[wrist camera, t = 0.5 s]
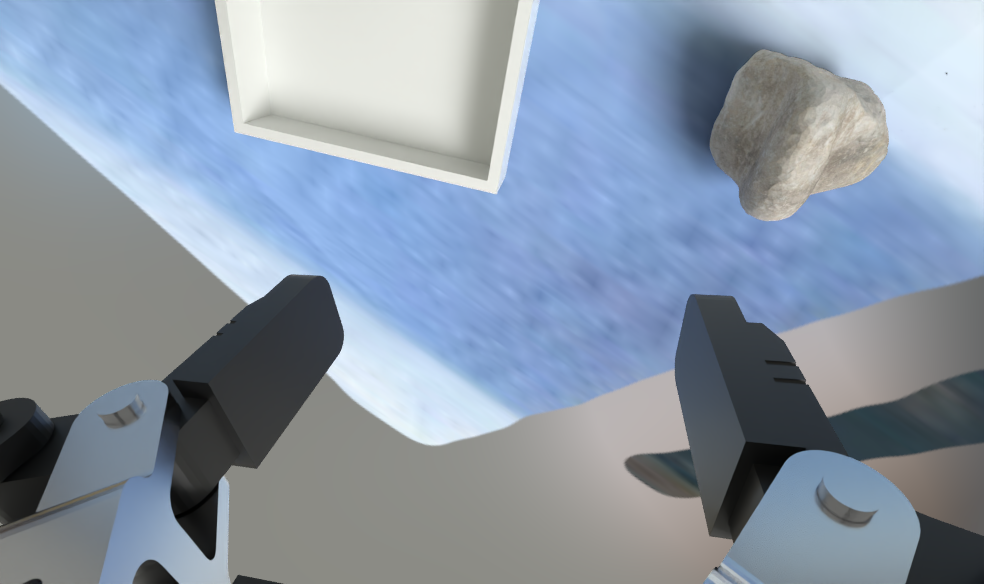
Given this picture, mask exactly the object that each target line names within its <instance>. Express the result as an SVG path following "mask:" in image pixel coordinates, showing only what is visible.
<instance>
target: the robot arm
mask: <svg viewBox="0 0 984 584" xmlns="http://www.w3.org/2000/svg"><path fill="white" fill-rule="evenodd" d="M343 340H344V331H343V327H342V323H341V320H340V317H339V314H338V311H337V307H336V304H335V301H334V298H333V295H332V291H331V288H330V285H329V283H328V281H327V280H326V278H324V277H323V276H314V275H288V276H287V277H285V278H284V279H283V280H282V281H281V282H280V283H279V284H277V285H276V286H275V287H274V288H273V289H272V290H271V291H270V292H269V293H268V294H266V295H265V296H264V297H262V298H260V299H259V300H257V301H255V302H253V303H251V304H250V305H248V306H246V307H245V308H244V309H243V310H242V311H241V312H240V313H238V314H237V315H236V316H235V317H234V318H233V319H232V320H231V323H230V324H226V325H225V326H224V327H222V328H221V329H220V330H219V331H218V332H217V335H216V336H213V337H211V338H210V339H209V340H208V341H207V342H206V343H204V344H203V345H202V346H201V347H200V348H199V349H198V350H196V351H195V352H194V353H193V354H192V355H191V356H190V357H189V358H188V359H186V360H185V361H184V362H183V363H182V364H181V365H179V366H178V367H177V368H176V369H175V370H174V371H173V372H172V373H170V374H169V375H168V376H167V377H166V378H165V379H164V380H163V381H157V380H143V381H137V382H134V383H130V384H127V385H124V386H121V387H119V388H116V389H114V390H112V391H110V392H108V393H106V394H104V395H103V396H101V397H99V398H98V399H96V400H95V401H94V402H92V403H91V404H90V405H88V406H87V407H86V408H85V409H84V410H83V411H82V412H81V413H80V414H76V415H70V416H63V417H56V418H49V417H48V416H47V415H46V414H45V413H44V412H43V411H42V410H41V408H40V407H39V406H38V405H37V404H36V403H35V402H34V401H33V400H31V399H28V398H15V399H10V400H5V401H1V402H0V522H1V523H2V524H3V525H1V526H0V584H231V583H230V579H229V574H228V523H229V483H228V480H227V478H226V477H225V475H224V474H225V473H226V472H227V471H228V469H229V468H230V467H231V465H235V466H242V467H249V468H256V469H257V468H258V466H259V465H260V464H261V462H262V461H263V459H264V458H265V457H266V455H267V454H268V452H269V451H270V450H271V448H272V447H273V446H274V444H275V443H276V441H277V440H278V438H279V437H280V436H281V434H282V433H283V432H284V430H285V429H286V427H287V426H288V425H289V423H290V422H291V420H292V419H293V417H294V416H295V415H296V413H297V412H298V411H299V409H300V408H301V406H302V405H303V403H304V402H305V401H306V399H307V398H308V396H309V395H310V394H311V392H312V391H313V390H314V388H315V387H316V385H317V384H318V383H319V381H320V380H321V379H322V377H323V376H324V374H325V373H326V372H327V370H328V369H329V367H330V366H331V365H332V363H333V362H334V360H335V359H336V358H337V356H338V355H339V353H340V351H341V349H342V345H343ZM675 380H676V386H677V390H678V395H679V399H680V404H681V408H682V413H683V418H684V422H685V426H686V431H687V436H688V440H689V445H690V450H691V454H692V459H693V463H694V468H695V472H696V477H697V481H698V486H699V491H700V495H701V499H702V504H703V509H704V513H705V518H706V522H707V527H708V532H709V535H710V536H712V537H720V538H726V539H733V543H734V544H733V546H732V547H731V549H730V551H729V552H728V554H727V555H726V557H725V559H724V560H723V562H722V563H721V564H720V566H719V567H718V568H717V567H715V568H714V569H713V571H712V572H711V573H710V574H709V576H708V577H707V579H706V580H705V582H704V583H703V584H984V536H982V535H979V534H976V533H973V532H970V531H967V530H965V529H962V528H959V527H956V526H954V525H951V524H948V523H945V522H942V521H940V520H937V519H934V518H931V517H929V516H926V515H924V514H921V513H919V512H917V511H915V510H914V509H913V507H912V505H911V504H910V502H909V501H908V500H907V498H906V497H905V496H904V495H903V493H902V492H901V491H900V490H899V489H898V488H897V487H896V486H895V485H894V484H893V483H891V482H890V481H889V480H888V479H887V478H885V477H884V476H883V475H881V474H880V473H878V472H877V471H875V470H874V469H872V468H870V467H869V466H867V465H865V464H863V463H861V462H859V461H857V460H855V459H853V458H850V457H849V456H848V454H847V452H846V450H845V449H844V447H843V445H842V443H841V442H840V440H839V438H838V436H837V434H836V433H835V431H834V429H833V427H832V426H831V424H830V422H829V420H828V418H827V417H826V415H825V413H824V411H823V410H822V408H821V406H820V405H819V403H818V401H817V399H816V397H815V396H814V394H813V392H812V390H811V388H810V387H809V385H806V383H805V382H806V379H805V378H804V376H803V374H802V372H801V371H800V369H799V367H797V366H796V362H795V360H794V358H793V356H792V355H791V353H790V351H789V349H788V348H787V346H786V344H785V342H784V341H783V340H782V339H780V338H779V337H778V336H777V335H776V334H774V333H773V332H772V331H771V330H770V329H768V328H767V327H766V326H765V325H764V324H762V323H749V322H746V320H745V318H744V316H743V314H742V312H741V310H740V308H739V306H738V304H737V302H736V300H735V298H734V297H733V296H720V295H698V294H691V295H690V297H689V299H688V301H687V305H686V310H685V314H684V319H683V323H682V328H681V333H680V337H679V342H678V347H677V351H676V358H675ZM233 584H281V583H277V582H272V581H267V580H262V579H257V578H252V577H247V576H241V575H238V576H237V578H236V579H235V581H234V582H233Z"/></svg>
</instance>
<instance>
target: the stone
mask: <svg viewBox="0 0 984 584" xmlns="http://www.w3.org/2000/svg"><path fill="white" fill-rule="evenodd" d="M888 143H889V138H888V128H887V125H886V115H885V109H884V106H883V104H882V102H881V101H880V99H879V98H878V96H877V95H875V94H874V92H873V90H872V89H871V88H870V87H869V86H868V85H867V84H865V83H863V82H861V81H856V80H852V79H848V78H843V77H839V76H836V75H834V74H833V73H831V72H829V71H827V70H825V69H823V68H818V67H816V66H814V65H813V64H811V63H809V62H807V61H805V60H803V59H800V58H796V57H787V56H785V55H783V54H782V53H778V52H773V51H769V50H765V49H761V50H759V51H757V52H756V53H755V54H754V55H753V56H752V57H751V58H750V59H749V60H748V62H747V63H746V64H745V65H744V66H742V67H741V68H740V69H739V70H738V72H737V73H736V74H735V77H734V79H733V81H732V84H731V87H730V90H729V92H728V94H727V96H726V99H725V103H724V106H723V108H722V110H721V111H720V114H719V116H718V118H717V119H716V121H715V122H714V126H713V129H712V133H711V137H710V150H711V153H712V156H713V158H714V160H715V163H716V164H717V166H718V167H719V168H720V169H721V170H722V171H723V172H724V173H725V174H727V175H728V176H729V177H731V178H732V179H733V180H734V181H735V183H736V184H737V185H738V187H739V198H740V203H741V205H742V207H743V209H744V210H745V211H746V213H747V214H749V215H751V216H753V217H755V218H756V219H759V220H763V221H776V220H781V219H784V218H788V217H790V216H791V215H793V214H794V213H795V212H796V211H797V210H798V209H799V208H800V207H801V206H802V205H803V203H804V202H805V201H806V200H807V198H808V197H809V196H810V195H812V194H816V193H819V192H824V191H828V190H832V189H836V188H840V187H844V186H848V185H852V184H854V183H856V182H859V181H861V180H862V179H864V178H865V177H867V176H868V175H870V174H871V173H872V172H873V171H874V170H875V169H876V167H877V166H878V165H879V164H880V163H881V161H882V160H883V159H884V158H885V156H886V154H887V150H888V149H887V147H888Z"/></svg>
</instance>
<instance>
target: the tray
mask: <svg viewBox="0 0 984 584" xmlns="http://www.w3.org/2000/svg"><path fill="white" fill-rule="evenodd" d="M539 2H540V0H215V6H216V12H217V19H218V25H219V32H220V39H221V45H222V52H223V58H224V65H225V71H226V78H227V85H228V91H229V98H230V104H231V111H232V117H233V124H234V131H235V132H237V133H241V134H245V135H249V136H253V137H258V138H262V139H266V140H270V141H275V142H279V143H283V144H287V145H291V146H296V147H300V148H304V149H308V150H312V151H317V152H321V153H325V154H329V155H333V156H338V157H342V158H346V159H350V160H354V161H359V162H363V163H367V164H371V165H376V166H380V167H384V168H388V169H392V170H397V171H401V172H405V173H409V174H413V175H418V176H422V177H426V178H430V179H434V180H439V181H443V182H447V183H451V184H455V185H460V186H464V187H468V188H472V189H477V190H481V191H485V192H489V193H493V194H497V192H498V190H499V188H500V186H501V184H502V182H503V180H504V178H505V176H506V170H507V165H508V160H509V155H510V150H511V145H512V140H513V135H514V130H515V124H516V119H517V114H518V109H519V104H520V99H521V94H522V89H523V84H524V79H525V73H526V68H527V63H528V58H529V53H530V48H531V43H532V38H533V33H534V28H535V22H536V17H537V12H538V7H539Z"/></svg>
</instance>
